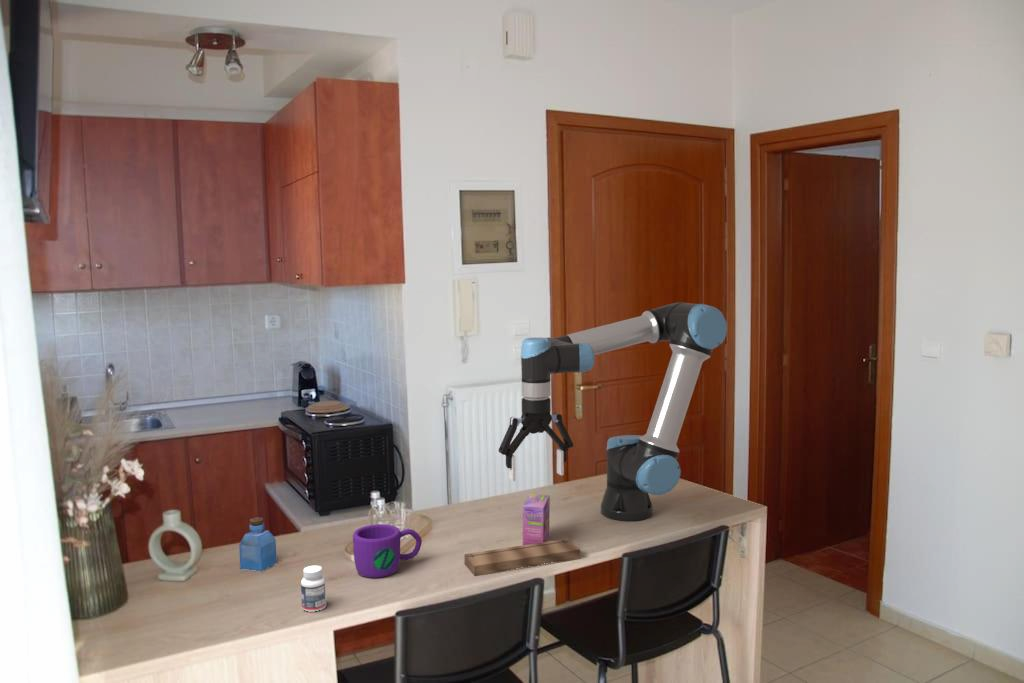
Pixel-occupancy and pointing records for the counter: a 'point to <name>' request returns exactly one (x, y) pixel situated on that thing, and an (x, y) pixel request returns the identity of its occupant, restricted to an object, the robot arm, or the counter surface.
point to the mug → (380, 549)
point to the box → (536, 519)
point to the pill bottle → (313, 589)
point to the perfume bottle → (257, 547)
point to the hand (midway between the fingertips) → (536, 477)
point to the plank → (521, 556)
